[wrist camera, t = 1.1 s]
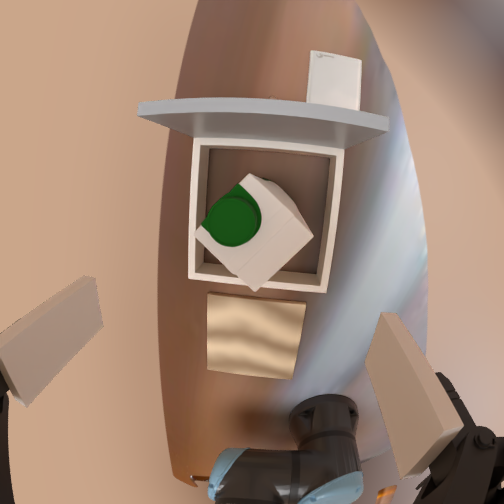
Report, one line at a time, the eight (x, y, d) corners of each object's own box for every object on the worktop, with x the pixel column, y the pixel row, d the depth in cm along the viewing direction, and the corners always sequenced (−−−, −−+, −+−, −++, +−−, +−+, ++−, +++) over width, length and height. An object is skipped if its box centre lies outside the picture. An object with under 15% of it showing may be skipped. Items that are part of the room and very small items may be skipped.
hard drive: (310, 49, 33) (304, 120, 36) (362, 59, 33) (358, 131, 36) (309, 53, 35) (303, 123, 38) (359, 63, 34) (356, 132, 37)
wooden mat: (291, 376, 49) (291, 379, 48) (208, 366, 50) (207, 369, 49) (305, 302, 45) (306, 304, 44) (209, 291, 46) (207, 294, 45)
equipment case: (321, 280, 43) (348, 360, 23) (197, 267, 45) (139, 334, 25) (339, 106, 36) (387, 51, 16) (207, 97, 38) (149, 41, 17)
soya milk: (263, 169, 40) (247, 161, 21) (306, 212, 41) (329, 243, 22) (222, 211, 42) (175, 240, 23) (265, 252, 43) (253, 312, 24)
